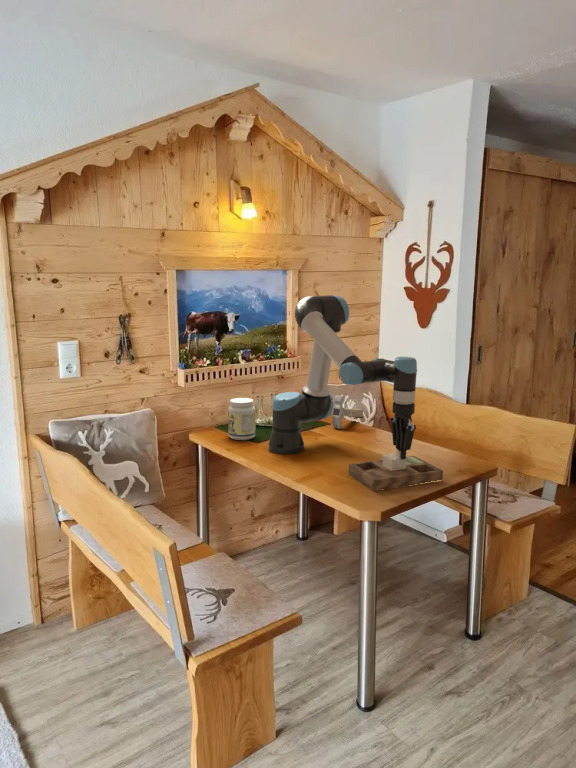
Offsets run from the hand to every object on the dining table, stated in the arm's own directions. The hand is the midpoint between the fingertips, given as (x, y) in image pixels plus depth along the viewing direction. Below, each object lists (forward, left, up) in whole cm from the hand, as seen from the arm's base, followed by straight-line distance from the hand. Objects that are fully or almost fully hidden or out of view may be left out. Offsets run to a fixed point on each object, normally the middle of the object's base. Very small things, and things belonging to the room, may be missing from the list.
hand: (400, 467), depth 201 cm
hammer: (+20, +79, -6) cm, 81 cm away
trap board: (0, +3, -5) cm, 6 cm away
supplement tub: (-36, +73, -5) cm, 82 cm away
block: (0, +4, -1) cm, 4 cm away
